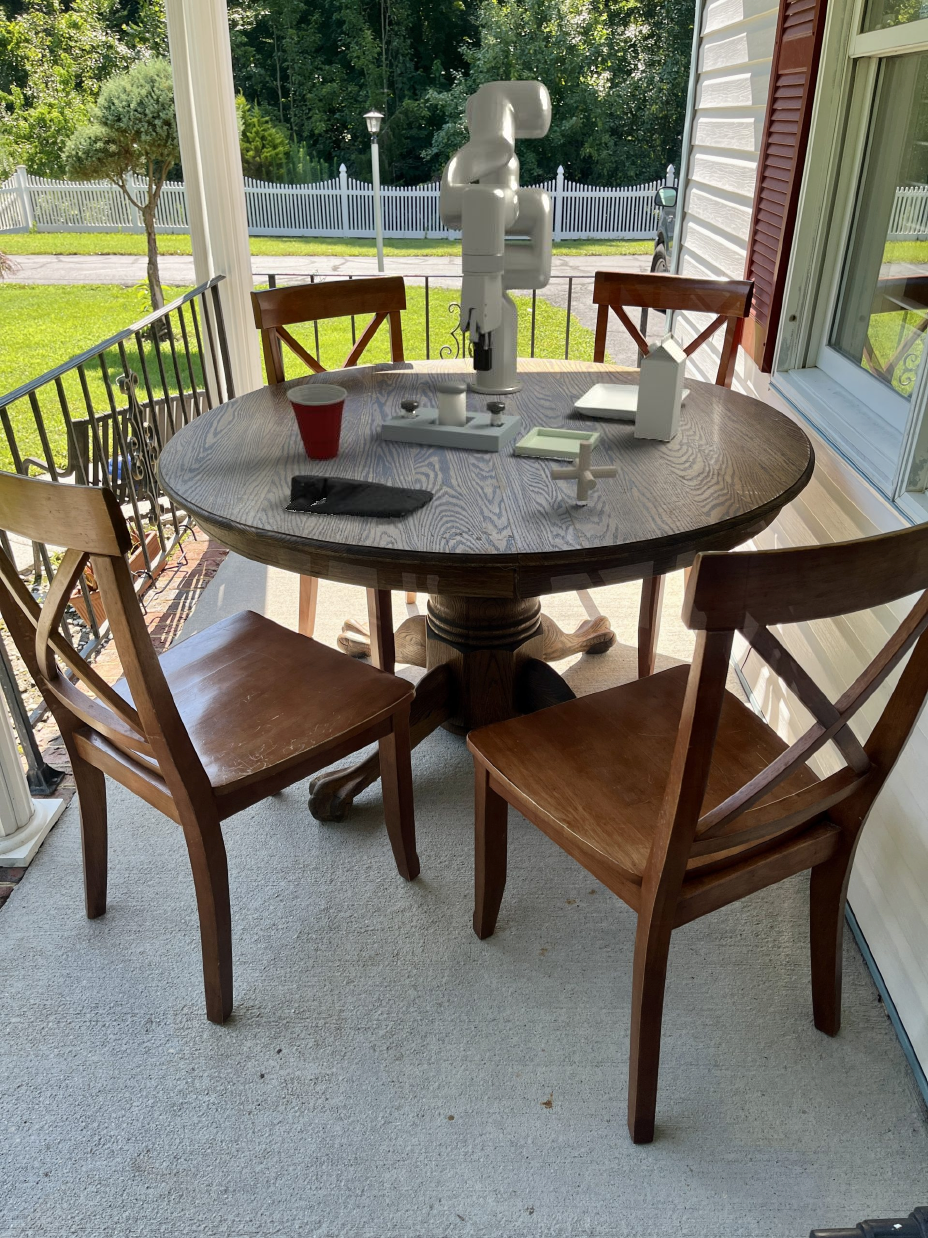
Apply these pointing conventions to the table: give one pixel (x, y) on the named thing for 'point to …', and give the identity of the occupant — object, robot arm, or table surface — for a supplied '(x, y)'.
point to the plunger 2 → (495, 412)
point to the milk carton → (660, 390)
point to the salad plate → (612, 401)
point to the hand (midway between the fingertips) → (482, 369)
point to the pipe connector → (583, 472)
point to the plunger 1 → (410, 408)
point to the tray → (554, 443)
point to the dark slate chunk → (354, 497)
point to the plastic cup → (319, 418)
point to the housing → (452, 430)
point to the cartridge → (452, 403)
